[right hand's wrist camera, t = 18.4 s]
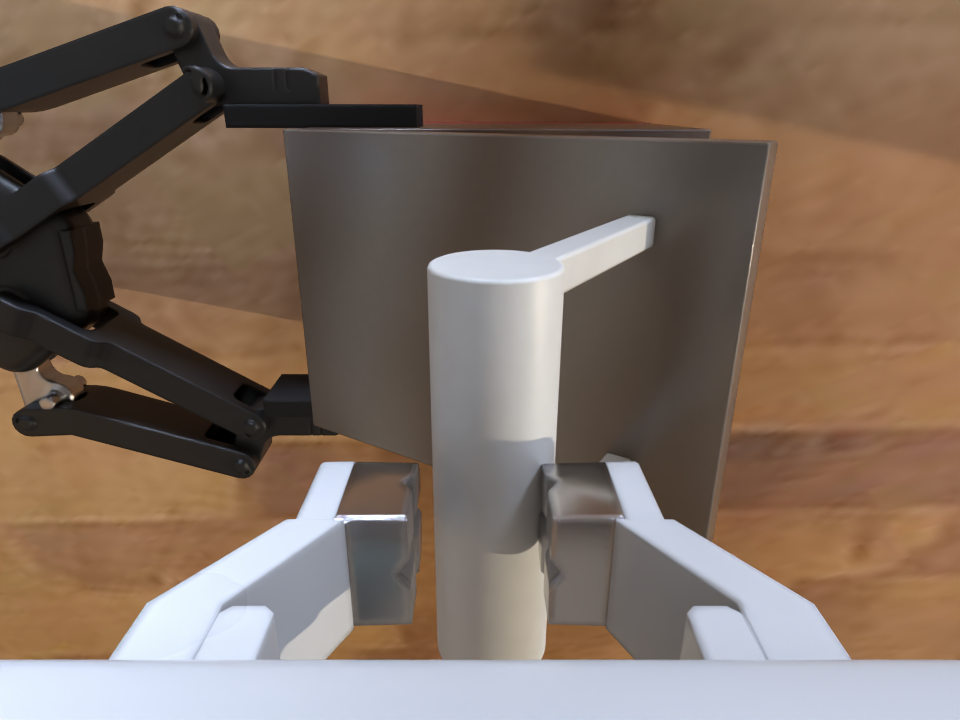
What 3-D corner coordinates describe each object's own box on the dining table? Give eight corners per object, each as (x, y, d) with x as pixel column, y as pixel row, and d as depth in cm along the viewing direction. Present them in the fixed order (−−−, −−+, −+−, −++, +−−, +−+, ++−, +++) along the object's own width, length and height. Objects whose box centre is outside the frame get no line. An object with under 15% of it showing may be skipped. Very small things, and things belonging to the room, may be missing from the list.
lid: (778, 140, 14) (646, 171, 7) (713, 539, 18) (586, 812, 11) (307, 128, 21) (11, 137, 14) (333, 414, 24) (110, 532, 18)
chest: (644, 122, 30) (712, 128, 21) (624, 334, 33) (676, 414, 25) (352, 121, 30) (299, 127, 21) (366, 333, 33) (326, 413, 25)
